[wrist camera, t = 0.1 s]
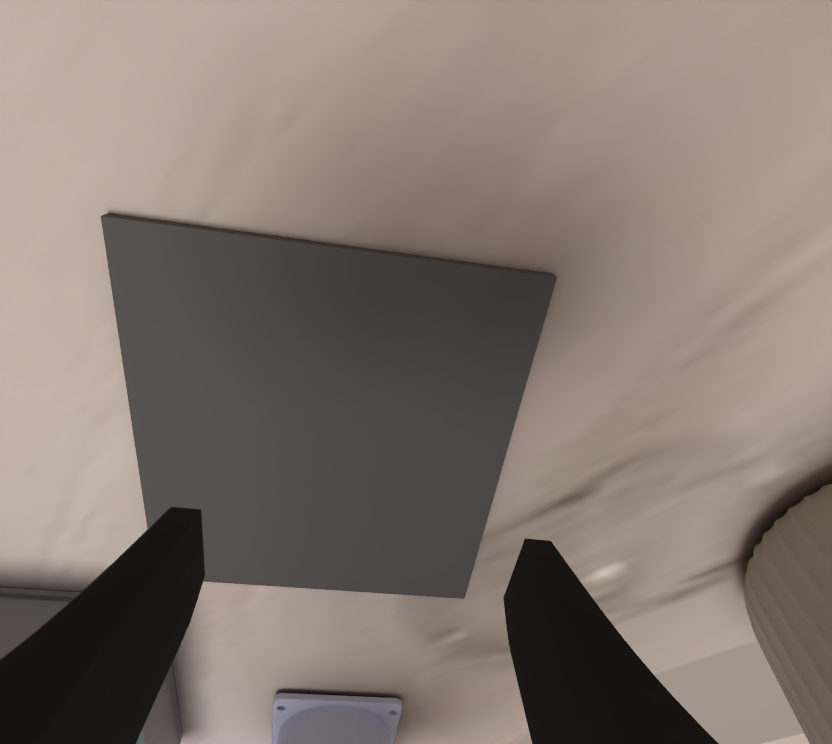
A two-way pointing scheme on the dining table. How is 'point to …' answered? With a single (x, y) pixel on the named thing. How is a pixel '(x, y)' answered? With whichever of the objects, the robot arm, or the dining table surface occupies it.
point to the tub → (31, 608)
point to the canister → (797, 609)
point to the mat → (321, 400)
